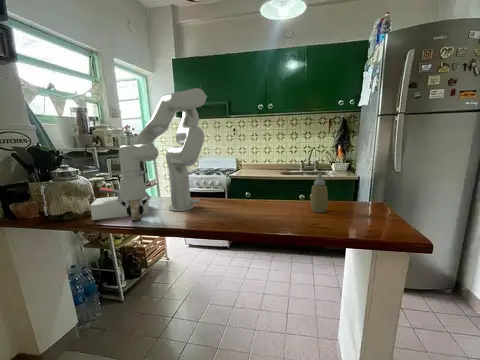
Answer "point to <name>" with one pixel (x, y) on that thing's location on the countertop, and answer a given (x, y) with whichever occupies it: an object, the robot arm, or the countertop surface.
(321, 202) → the squeeze bottle
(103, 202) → the switch base
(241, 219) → the countertop surface
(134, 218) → the dowel
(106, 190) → the rocker
